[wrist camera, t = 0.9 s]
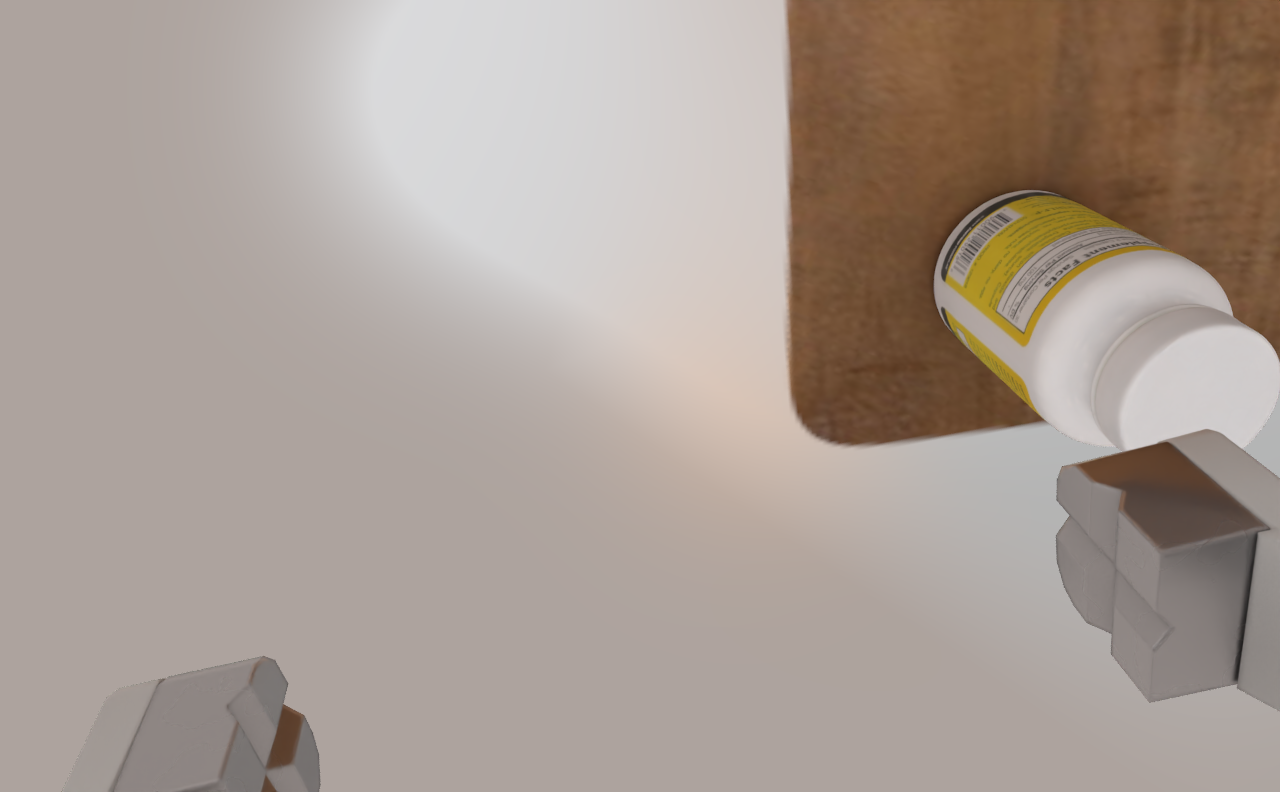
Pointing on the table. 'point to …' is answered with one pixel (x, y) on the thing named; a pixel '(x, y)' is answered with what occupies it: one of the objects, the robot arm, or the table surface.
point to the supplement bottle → (1101, 325)
